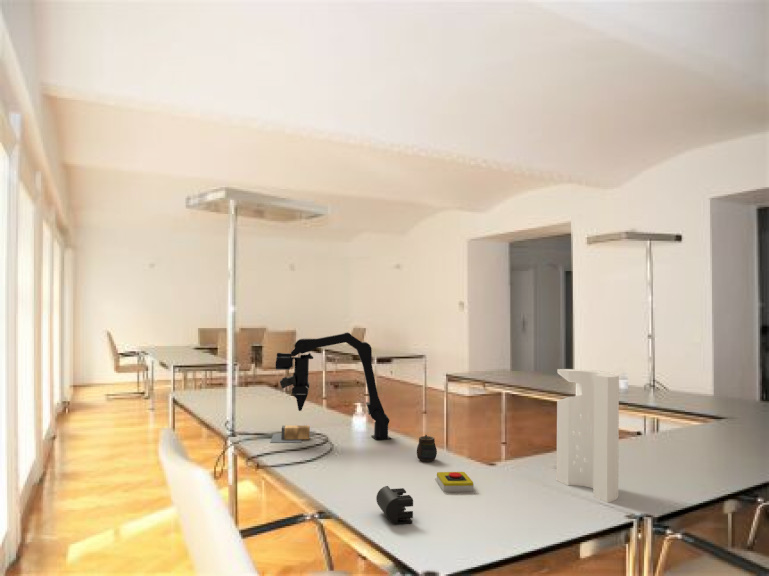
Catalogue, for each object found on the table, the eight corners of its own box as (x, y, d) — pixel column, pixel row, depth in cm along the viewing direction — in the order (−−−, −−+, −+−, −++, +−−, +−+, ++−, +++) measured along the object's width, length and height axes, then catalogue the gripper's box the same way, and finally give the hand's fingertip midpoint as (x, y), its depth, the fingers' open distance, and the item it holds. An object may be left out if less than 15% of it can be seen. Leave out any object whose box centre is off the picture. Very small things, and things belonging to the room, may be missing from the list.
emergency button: (444, 480, 161) (434, 466, 176) (444, 496, 161) (434, 480, 176) (476, 480, 162) (463, 465, 177) (476, 495, 162) (463, 479, 177)
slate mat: (302, 434, 232) (302, 434, 232) (301, 442, 219) (301, 442, 219) (273, 434, 231) (273, 434, 231) (270, 442, 217) (270, 442, 217)
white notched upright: (604, 502, 157) (554, 480, 176) (634, 497, 161) (582, 477, 180) (605, 377, 158) (555, 369, 177) (635, 376, 162) (583, 368, 182)
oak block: (309, 425, 228) (282, 425, 227) (309, 427, 224) (281, 427, 223) (309, 436, 228) (282, 436, 227) (309, 439, 224) (281, 439, 222)
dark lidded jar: (435, 457, 200) (436, 429, 201) (438, 463, 193) (438, 434, 193) (415, 457, 200) (416, 429, 201) (417, 463, 193) (418, 434, 193)
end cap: (375, 512, 146) (376, 486, 146) (401, 510, 148) (402, 484, 148) (385, 527, 136) (386, 499, 136) (413, 524, 138) (413, 497, 138)
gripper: (283, 367, 235) (282, 404, 234) (279, 372, 216) (278, 413, 216) (309, 367, 236) (308, 404, 235) (308, 372, 217) (307, 413, 217)
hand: (300, 408), depth 226 cm, fingers open, 9 cm apart
